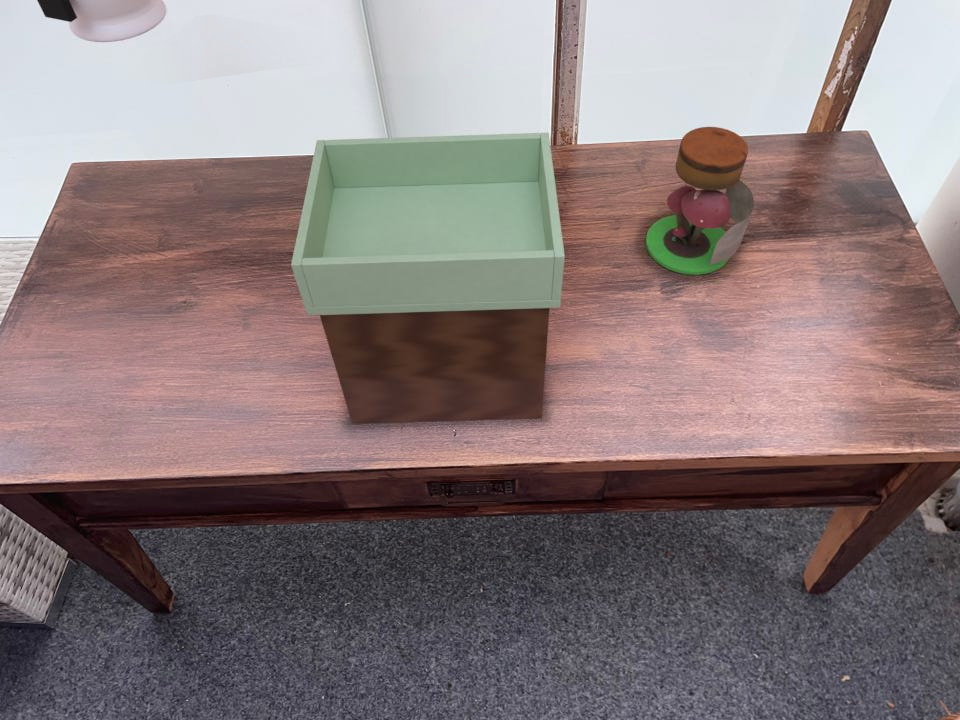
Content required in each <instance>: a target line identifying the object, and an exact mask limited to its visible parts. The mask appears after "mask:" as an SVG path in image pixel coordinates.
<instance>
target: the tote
mask: <svg viewBox="0 0 960 720" xmlns="http://www.w3.org/2000/svg"><path fill="white" fill-rule="evenodd" d="M550 139H551V138H550V133H549V132H527V133H525V132H524V133H498V134H496V133H495V134H493V133H492V134H467V135H438V136H437V135H436V136H409V137H408V136H407V137H378V138H377V137H376V138H347V139H344V138H343V139H317V140H316V142H315V147H314V152H313V157H312V162H311V168H310V170H309V177H308V180H307V186H306V191H305V196H304V201H303V205H302V211H301V215H300V220H299V225H298V230H297V235H296V239H295V244H294V249H293V253H292V258H291V263H290V266H291V270H292V272H293V275H294V276H293V277H294V279H295V282H296V285H297V289H298V292H299V294H300V298H301V301H302V304H303V307H304V309H305V314H306V316H320V315H340V314H373V313H405V312H437V311H469V310H502V309H534V308H550V309H557V308H558V309H560V308H561V302H562V292H563V282H564V269H565V268H564V267H565V258H566V254H565V247H564V241H563V231H562V224H561V218H560V217H561V216H560V209H559V201H558V194H557V193H558V192H557V186H556V178H555V171H554V163H553V155H552V148H551V147H552V146H551V140H550Z"/></svg>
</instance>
